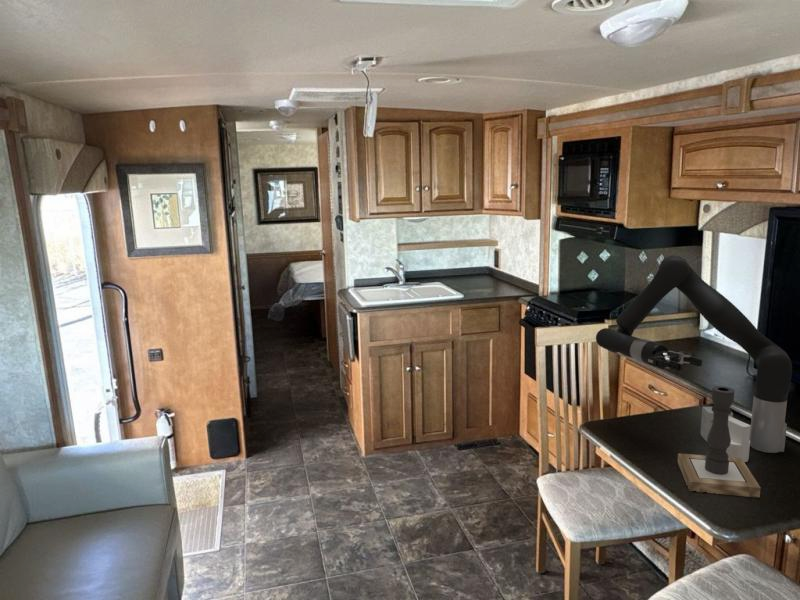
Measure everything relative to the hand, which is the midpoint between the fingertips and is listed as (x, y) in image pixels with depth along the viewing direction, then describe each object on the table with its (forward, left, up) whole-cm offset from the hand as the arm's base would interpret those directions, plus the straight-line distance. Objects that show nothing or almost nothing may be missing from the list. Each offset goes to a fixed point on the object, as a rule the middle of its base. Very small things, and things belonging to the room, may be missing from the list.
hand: (691, 365), depth 183 cm
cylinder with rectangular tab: (-16, -8, -32) cm, 37 cm away
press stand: (-7, +9, -32) cm, 34 cm away
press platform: (-7, +9, -32) cm, 34 cm away
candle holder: (-7, +8, -29) cm, 31 cm away
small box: (-14, -21, -32) cm, 41 cm away
